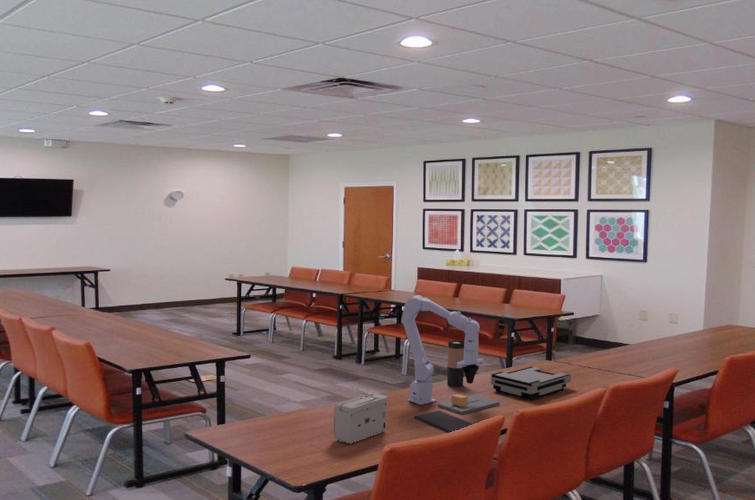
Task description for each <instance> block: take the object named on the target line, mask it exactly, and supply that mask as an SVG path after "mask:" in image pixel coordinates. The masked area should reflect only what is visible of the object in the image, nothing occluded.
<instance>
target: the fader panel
mask: <svg viewBox="0 0 755 500" xmlns="http://www.w3.org/2000/svg"><path fill="white" fill-rule="evenodd" d="M467 397H468V401H467V405H465V406H461V407H460V406H457V405H454V404H452V400H448V401H444V402H440V403H438V404H437V406H438V408H440V409H444V410H447V411H449V412H450V411H451V412H454V413H456V414H458V415H465V414H466V415H467V414H470V413H473V412H477V411H482V410H484V409H485V410H486V409H489V408H493V407H496V406H500V401H498V400H494V399H491V398H488V397H485V396H481V395H477V394H474V395H469V396H467Z"/></svg>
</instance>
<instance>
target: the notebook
mask: <svg viewBox="0 0 755 500" xmlns="http://www.w3.org/2000/svg"><path fill="white" fill-rule="evenodd" d="M414 419H415V420H417V419H418V421H419V422H422V423H425V424H427V425H429V426H432V427H434V428H437V429H438V430H441V431H443V432H446V433H448V432H452V431H455V430H459V429H461V428H464V427H467V426H469V425H472V424H473V422H469V421H468V420H465V419H461V418H459V417H457V416H454V415H451V414H449V413H446V412H444V411H442V410H436V411H430V412H425V413H421V414H416V415H414Z"/></svg>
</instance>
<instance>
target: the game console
mask: <svg viewBox="0 0 755 500" xmlns="http://www.w3.org/2000/svg"><path fill="white" fill-rule="evenodd" d="M571 380H572V375H571V374H568V373H563V372H559V373H552V372H547V371H545V370H544V371H543V370H542V368H539V367H536V366H529V367H524V368H521V369H516V370H513V371H508V372H503V371H498V372H495V373H491V381H490V383H491V385H492V387H493V389H494V390H495V392H497V393H501V394H505V395H508V393H509V394H513V395H516V396H520V399H524V398H525V400H528V399H529V401H532V400H533V401H536V400H539V399H542V398H545V397H544V396H546V397H548V396H547V395H549V396H551V395H550V394H552V395H554V394H553V393H555V394H557V392H558V393H561V392H563V391H564V388H566V387H567V384H569V383H571V382H572V381H571ZM560 391H561V392H560ZM541 397H542V398H541ZM538 398H539V399H538ZM535 399H536V400H535Z"/></svg>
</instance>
